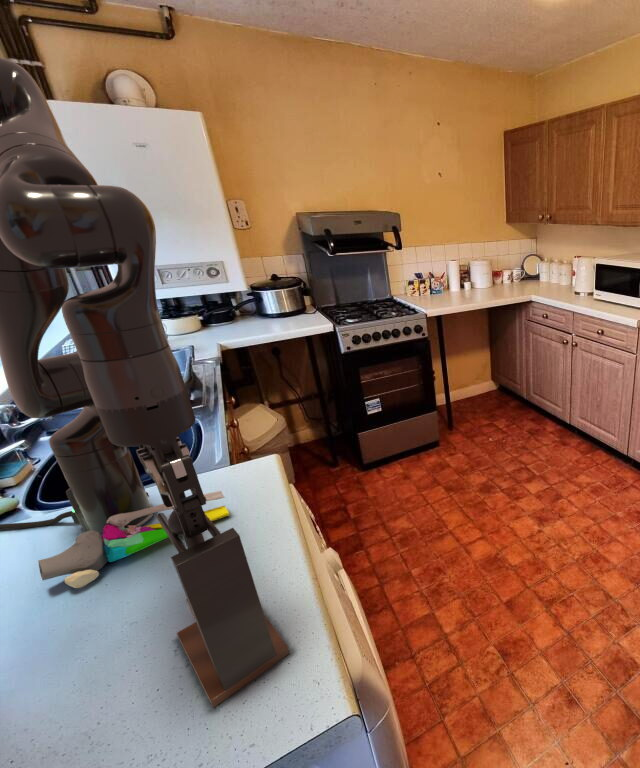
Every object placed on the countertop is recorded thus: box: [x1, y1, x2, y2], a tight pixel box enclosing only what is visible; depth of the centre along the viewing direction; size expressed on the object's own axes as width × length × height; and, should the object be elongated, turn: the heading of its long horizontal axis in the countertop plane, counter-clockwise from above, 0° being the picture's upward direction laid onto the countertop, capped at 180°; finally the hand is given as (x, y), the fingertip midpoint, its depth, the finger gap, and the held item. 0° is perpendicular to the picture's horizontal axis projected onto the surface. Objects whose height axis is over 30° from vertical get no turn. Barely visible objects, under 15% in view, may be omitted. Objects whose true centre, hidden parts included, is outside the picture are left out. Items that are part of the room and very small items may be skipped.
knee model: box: [37, 490, 230, 589], centre depth 76 cm, size 9×8×25 cm
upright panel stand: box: [155, 512, 291, 708], centre depth 55 cm, size 14×9×20 cm, turn 49°
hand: (186, 517), depth 52 cm, fingers open, 8 cm apart
